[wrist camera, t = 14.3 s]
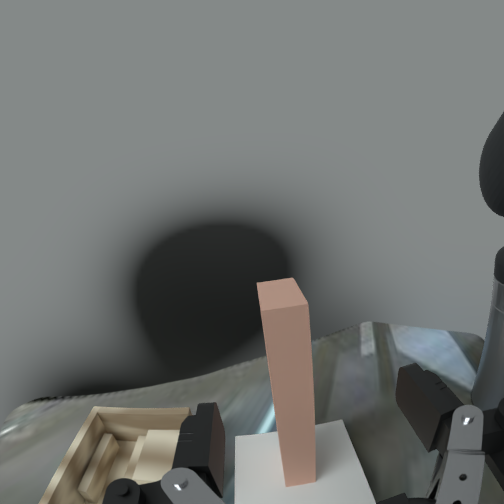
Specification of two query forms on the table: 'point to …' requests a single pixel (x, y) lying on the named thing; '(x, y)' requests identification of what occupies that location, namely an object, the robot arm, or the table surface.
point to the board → (290, 376)
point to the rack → (106, 451)
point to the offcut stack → (156, 456)
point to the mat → (307, 495)
